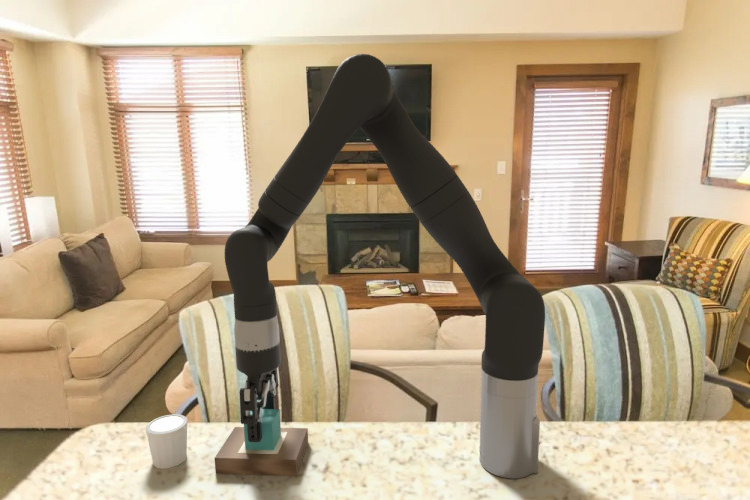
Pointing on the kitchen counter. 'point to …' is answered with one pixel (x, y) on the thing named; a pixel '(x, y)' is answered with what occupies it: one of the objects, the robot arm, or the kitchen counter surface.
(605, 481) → the kitchen counter surface
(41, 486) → the kitchen counter surface
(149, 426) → the white tapered cup
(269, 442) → the teal cube
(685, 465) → the kitchen counter surface
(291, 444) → the walnut plinth
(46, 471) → the kitchen counter surface
